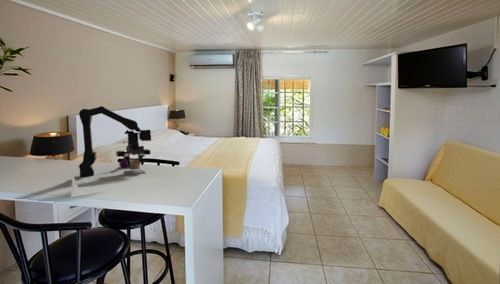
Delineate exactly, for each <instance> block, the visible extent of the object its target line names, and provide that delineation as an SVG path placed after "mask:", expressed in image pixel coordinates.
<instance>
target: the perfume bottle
mask: <svg viewBox="0 0 500 284" xmlns="http://www.w3.org/2000/svg"><path fill="white" fill-rule="evenodd" d="M125 143H127V144H128V140H124V141H123V142H122V144H123V145H124V144H125ZM125 150H126V152H128V145H126V148H125ZM128 156H129V160H133V158H131V157H130V155H128ZM122 158H123V157H122ZM118 165H119V166H120V167H121V168H127V169H129V166H128V164H127V162H126V160H125V158H123V159H122V160H121V161H120V162H119V163H118Z"/></svg>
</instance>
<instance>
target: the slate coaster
mask: <svg viewBox="0 0 500 284" xmlns="http://www.w3.org/2000/svg"><path fill="white" fill-rule="evenodd" d="M123 173H124V174H125V175H127V176H131V175H132V176H133V175H141V174H146V171H145V170H143V169H140V168H139V169H133V170H130V169H128V170H124V171H123Z"/></svg>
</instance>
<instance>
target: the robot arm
mask: <svg viewBox="0 0 500 284" xmlns="http://www.w3.org/2000/svg"><path fill="white" fill-rule="evenodd" d="M100 114H102V115H104V116H106V117H108V118H110V119H112V120H114V121H116V122H118V123H120V124H122V125H123V126H124V127H125V128H127V129H126V131H124V135H127V141H128V143H127V146H128V152H127V151H124V150H116V151H115V157H118V158H119V157H122V158H125V160H126V162H127V164H128V166H129V168H130V162H129V157H130V155H132V156H136V155H137V160H139V167H140V165H141V163H142V160H143V158H144V157H145V156H147V155H151V154H152V153H151V150H150V149H147V148H146V149H145V146H144V145H140V144H139V140H141V142H151V141H152V135H151V133H152V132H151V129H141V128H140V127H139V125H138V122H137V121H136V120H133V119H129V118H126V117H123V116H122V115H120V114H118V113H116V112H114V111H111V110H109V109H108V108H106V107H105V106H99V107H95V108H82V109H81V110H79V113H78V115H79V119H80V122H81V124H82V125H81V126H82V132H83V144H84V151H83V157H82V162H81V163H80V164H79V165H78V168H79V178H89V177H94V176H95V170H94V169H93V167H92V166H93V165H94V164H95V163H96V161H97V159H98V157H97V151H94V149H93V137H92V122H93V121H92V120H93V116H96V115H97V116H98V115H100ZM134 131H135V132H134ZM139 145H140V146H139ZM128 155H129V156H128ZM129 168H128V169H129Z"/></svg>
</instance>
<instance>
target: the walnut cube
mask: <svg viewBox="0 0 500 284" xmlns="http://www.w3.org/2000/svg"><path fill="white" fill-rule="evenodd" d="M129 162H130V168H128V170H139V169H140V166H139V160H138V159H132V160H129Z"/></svg>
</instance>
